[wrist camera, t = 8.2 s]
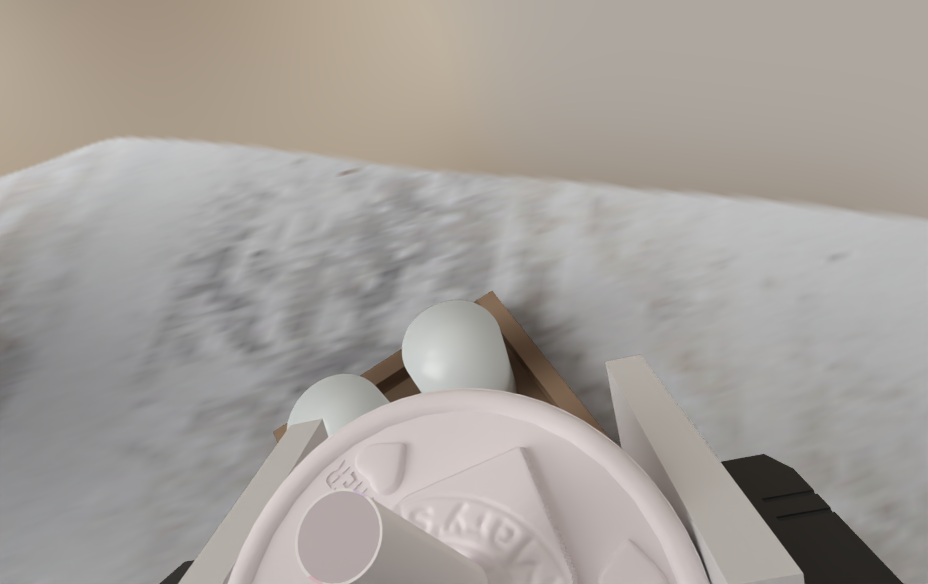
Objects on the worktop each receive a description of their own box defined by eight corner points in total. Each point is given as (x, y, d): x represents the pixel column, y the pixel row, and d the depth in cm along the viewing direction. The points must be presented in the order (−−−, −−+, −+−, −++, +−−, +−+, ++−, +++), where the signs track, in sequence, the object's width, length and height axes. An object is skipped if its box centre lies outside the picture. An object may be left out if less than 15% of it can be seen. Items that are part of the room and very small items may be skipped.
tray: (289, 442, 32) (272, 431, 31) (497, 307, 34) (491, 290, 32) (480, 871, 22) (471, 891, 20) (762, 645, 24) (775, 646, 22)
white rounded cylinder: (323, 447, 31) (271, 411, 26) (396, 399, 32) (359, 355, 27) (360, 523, 29) (310, 499, 24) (437, 469, 29) (405, 436, 24)
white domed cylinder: (416, 391, 32) (383, 342, 27) (480, 339, 33) (459, 282, 28) (467, 454, 29) (441, 413, 24) (535, 396, 30) (523, 345, 25)
